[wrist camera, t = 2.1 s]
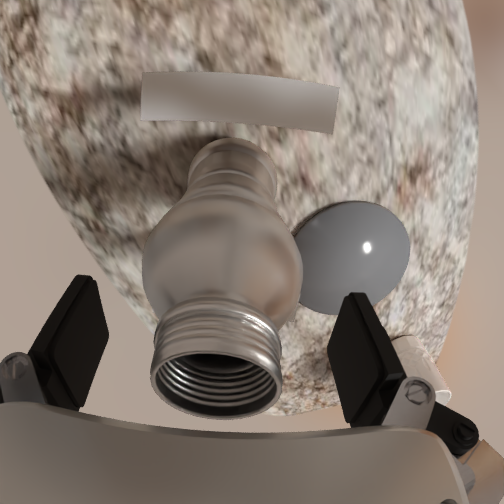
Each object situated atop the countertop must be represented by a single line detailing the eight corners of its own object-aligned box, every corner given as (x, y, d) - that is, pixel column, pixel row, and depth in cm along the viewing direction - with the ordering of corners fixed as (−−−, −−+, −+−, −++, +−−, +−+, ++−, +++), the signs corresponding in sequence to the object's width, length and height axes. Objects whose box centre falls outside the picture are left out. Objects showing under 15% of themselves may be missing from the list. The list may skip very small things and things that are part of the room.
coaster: (296, 193, 26) (298, 195, 26) (423, 210, 27) (426, 212, 27) (276, 309, 33) (276, 313, 32) (384, 311, 34) (386, 315, 33)
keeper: (176, 74, 21) (142, 72, 13) (306, 84, 21) (339, 87, 14) (174, 248, 29) (153, 312, 21) (281, 255, 29) (293, 321, 22)
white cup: (366, 349, 37) (388, 413, 29) (419, 322, 35) (451, 381, 27) (379, 375, 41) (398, 431, 32) (426, 352, 39) (451, 405, 30)
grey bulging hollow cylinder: (243, 221, 27) (248, 450, 10) (177, 179, 25) (76, 388, 8) (290, 163, 25) (384, 367, 8) (221, 115, 23) (154, 244, 5)
